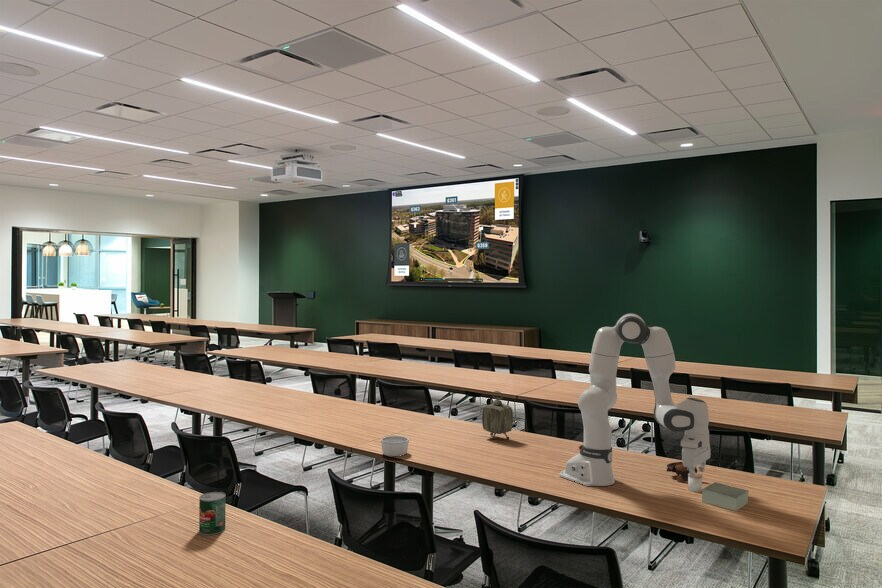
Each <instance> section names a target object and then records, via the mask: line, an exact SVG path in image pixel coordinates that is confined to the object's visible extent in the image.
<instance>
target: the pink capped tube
mask: <svg viewBox="0 0 882 588" xmlns="http://www.w3.org/2000/svg"><path fill="white" fill-rule="evenodd" d="M702 489H703V474H701V473H698V472H697V473H696V477H694V478H693V477H690V473H688V481H687V490H688V491H690V492H694V493H702Z"/></svg>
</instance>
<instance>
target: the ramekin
mask: <svg viewBox="0 0 882 588" xmlns="http://www.w3.org/2000/svg"><path fill="white" fill-rule="evenodd" d="M409 442H410V439H409V438H408V437H406V436H402V435H388V436H384V437H381V439H380V443H381V451H382V453H383V455H384V456H387V457H392V456H398V457H401V456H400V455H403V456H405V455H406V454H407V453H408V449H409ZM404 454H405V455H404Z"/></svg>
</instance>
